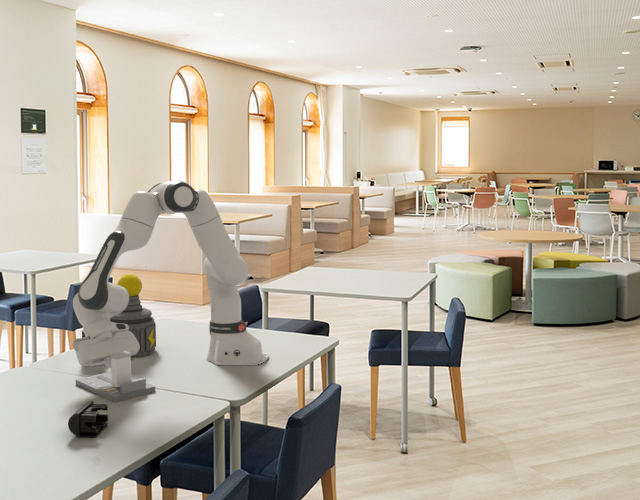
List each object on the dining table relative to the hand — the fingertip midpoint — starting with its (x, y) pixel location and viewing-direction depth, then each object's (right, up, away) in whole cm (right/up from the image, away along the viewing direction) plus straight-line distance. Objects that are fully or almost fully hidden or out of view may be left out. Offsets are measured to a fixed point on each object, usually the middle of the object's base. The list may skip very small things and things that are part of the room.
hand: (117, 369), depth 213 cm
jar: (-17, -3, +30) cm, 34 cm away
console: (-1, -6, +2) cm, 7 cm away
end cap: (+2, -11, -33) cm, 35 cm away
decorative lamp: (-8, -1, +44) cm, 45 cm away
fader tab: (+2, -4, -1) cm, 5 cm away
